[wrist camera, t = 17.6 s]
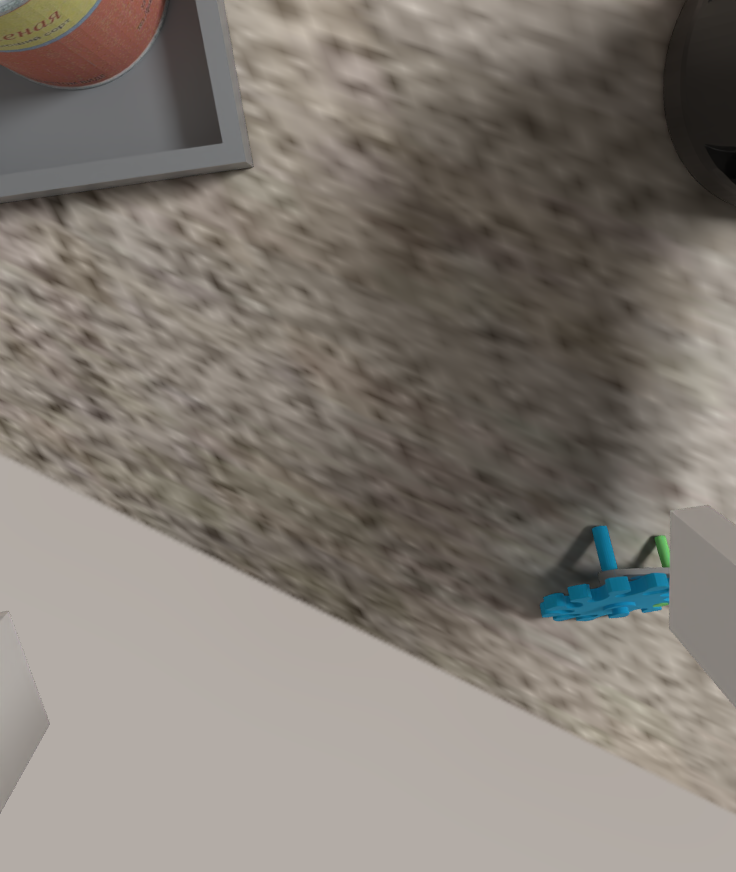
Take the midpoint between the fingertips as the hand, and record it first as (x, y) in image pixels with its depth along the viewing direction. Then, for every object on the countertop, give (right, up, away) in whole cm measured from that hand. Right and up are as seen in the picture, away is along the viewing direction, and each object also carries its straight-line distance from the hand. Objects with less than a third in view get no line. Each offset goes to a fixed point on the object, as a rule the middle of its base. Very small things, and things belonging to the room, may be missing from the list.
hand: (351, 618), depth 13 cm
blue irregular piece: (+17, -6, +34) cm, 38 cm away
